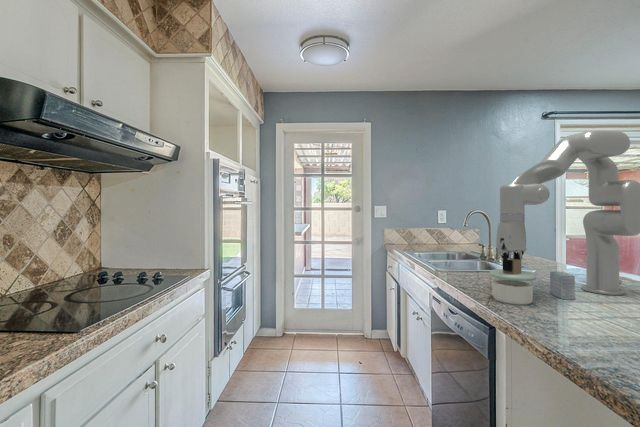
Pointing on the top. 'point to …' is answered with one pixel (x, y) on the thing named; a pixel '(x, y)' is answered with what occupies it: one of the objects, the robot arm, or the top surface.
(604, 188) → the robot arm
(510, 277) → the lid
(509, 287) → the bowl
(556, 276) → the medicine box
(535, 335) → the top surface
